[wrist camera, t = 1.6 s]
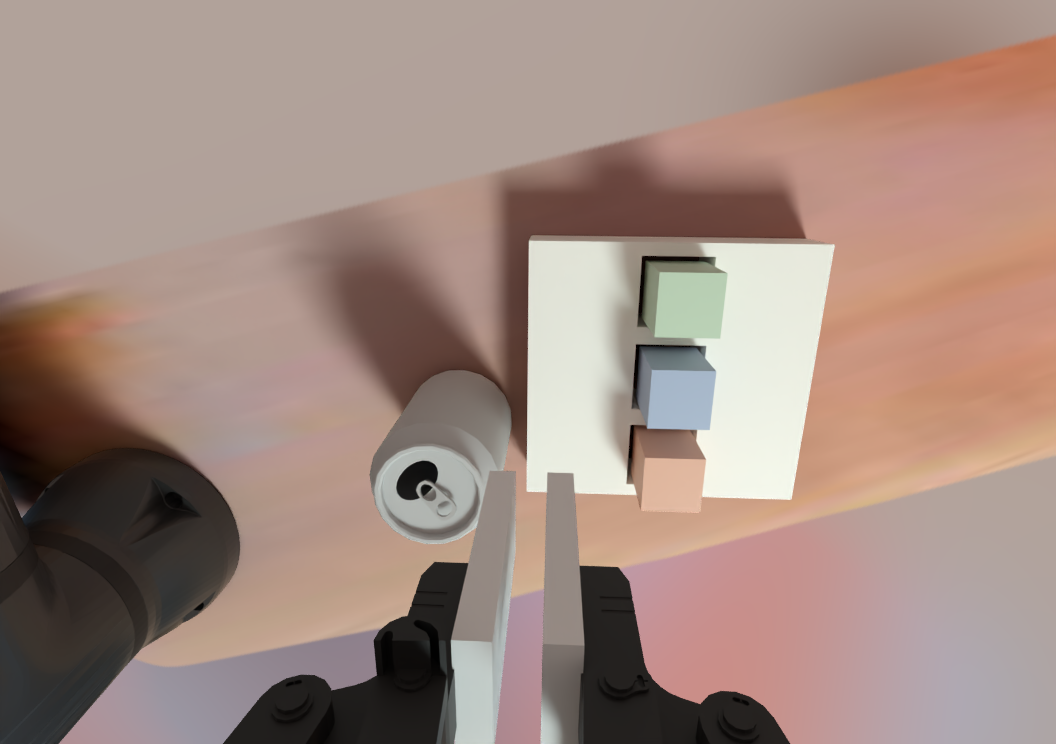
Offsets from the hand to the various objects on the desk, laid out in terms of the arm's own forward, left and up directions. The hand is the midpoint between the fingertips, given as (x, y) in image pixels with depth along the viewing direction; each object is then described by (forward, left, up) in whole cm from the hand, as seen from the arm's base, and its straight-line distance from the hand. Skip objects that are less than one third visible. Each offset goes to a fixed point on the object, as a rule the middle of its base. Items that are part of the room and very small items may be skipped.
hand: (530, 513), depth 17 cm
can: (-6, -7, -25) cm, 26 cm away
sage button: (+8, +3, -21) cm, 23 cm away
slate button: (+8, -2, -21) cm, 23 cm away
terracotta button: (+8, -8, -21) cm, 24 cm away
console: (+8, -3, -24) cm, 26 cm away
